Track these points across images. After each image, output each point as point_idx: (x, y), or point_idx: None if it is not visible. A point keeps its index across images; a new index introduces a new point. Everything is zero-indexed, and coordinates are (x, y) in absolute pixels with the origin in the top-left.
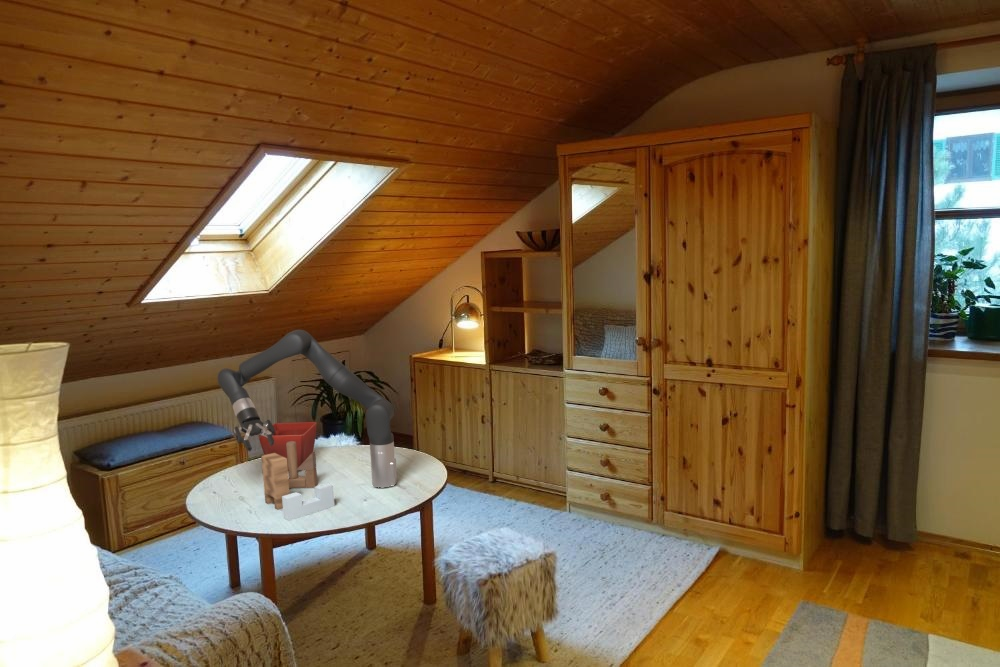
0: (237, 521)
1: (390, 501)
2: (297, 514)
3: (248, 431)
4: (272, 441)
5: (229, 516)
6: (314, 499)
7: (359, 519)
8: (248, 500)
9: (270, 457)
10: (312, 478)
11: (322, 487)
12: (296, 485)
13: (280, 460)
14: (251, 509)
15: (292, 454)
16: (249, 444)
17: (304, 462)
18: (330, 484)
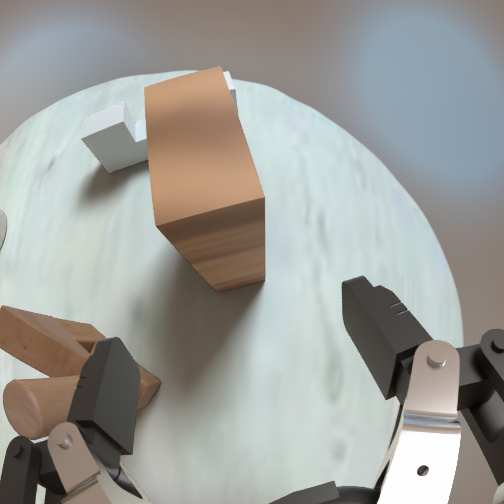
0: (360, 175)
1: (34, 140)
2: None
3: (423, 476)
4: (100, 349)
5: (382, 223)
6: (144, 129)
7: (115, 82)
8: (316, 339)
9: (213, 133)
10: (75, 324)
11: (111, 110)
12: None
13: (182, 77)
14: (317, 244)
15: (62, 378)
16: (374, 303)
17: (52, 335)
18: (85, 124)
